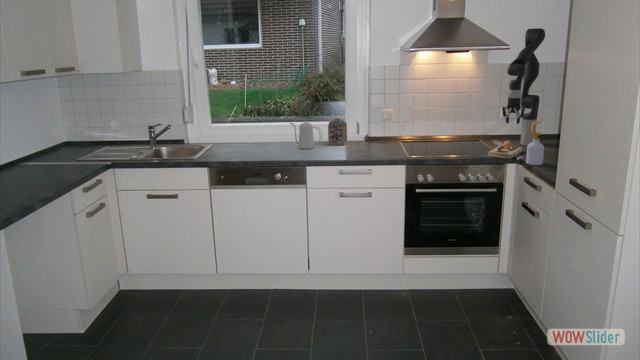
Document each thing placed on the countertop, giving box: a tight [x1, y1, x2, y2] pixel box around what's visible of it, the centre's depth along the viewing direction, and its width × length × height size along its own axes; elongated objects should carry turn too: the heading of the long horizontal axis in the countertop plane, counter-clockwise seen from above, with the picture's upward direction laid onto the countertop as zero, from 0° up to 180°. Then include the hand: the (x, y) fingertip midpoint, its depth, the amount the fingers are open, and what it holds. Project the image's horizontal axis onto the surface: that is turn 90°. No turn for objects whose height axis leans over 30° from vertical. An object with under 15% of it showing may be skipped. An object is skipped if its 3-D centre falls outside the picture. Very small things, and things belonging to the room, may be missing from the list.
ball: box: [502, 140, 513, 149], centre depth 328 cm, size 5×5×5 cm
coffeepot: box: [288, 120, 324, 150], centre depth 358 cm, size 11×25×19 cm, turn 68°
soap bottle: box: [525, 120, 545, 166], centre depth 297 cm, size 9×9×25 cm
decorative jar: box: [327, 117, 348, 146], centre depth 370 cm, size 12×12×18 cm
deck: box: [487, 144, 523, 160], centre depth 326 cm, size 24×14×4 cm, turn 144°
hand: (512, 123), depth 331 cm, fingers open, 5 cm apart
